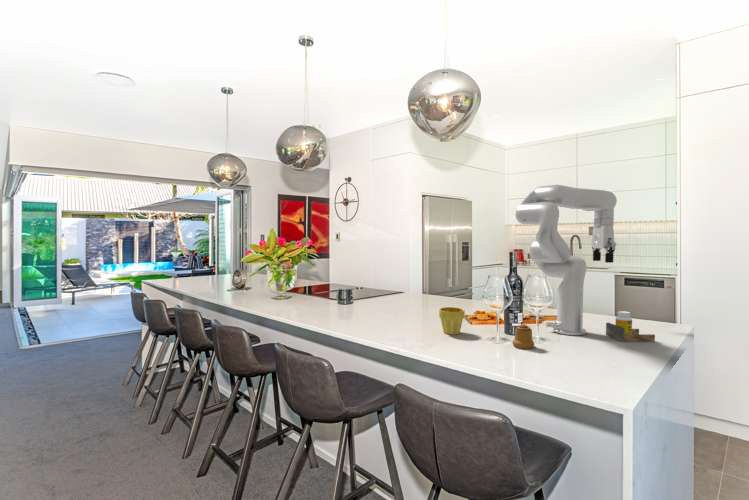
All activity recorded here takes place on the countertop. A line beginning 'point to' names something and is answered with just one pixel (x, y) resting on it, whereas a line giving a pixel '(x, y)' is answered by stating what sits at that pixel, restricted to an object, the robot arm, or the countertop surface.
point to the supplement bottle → (624, 322)
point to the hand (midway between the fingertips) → (602, 261)
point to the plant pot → (451, 319)
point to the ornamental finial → (523, 337)
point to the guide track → (619, 335)
